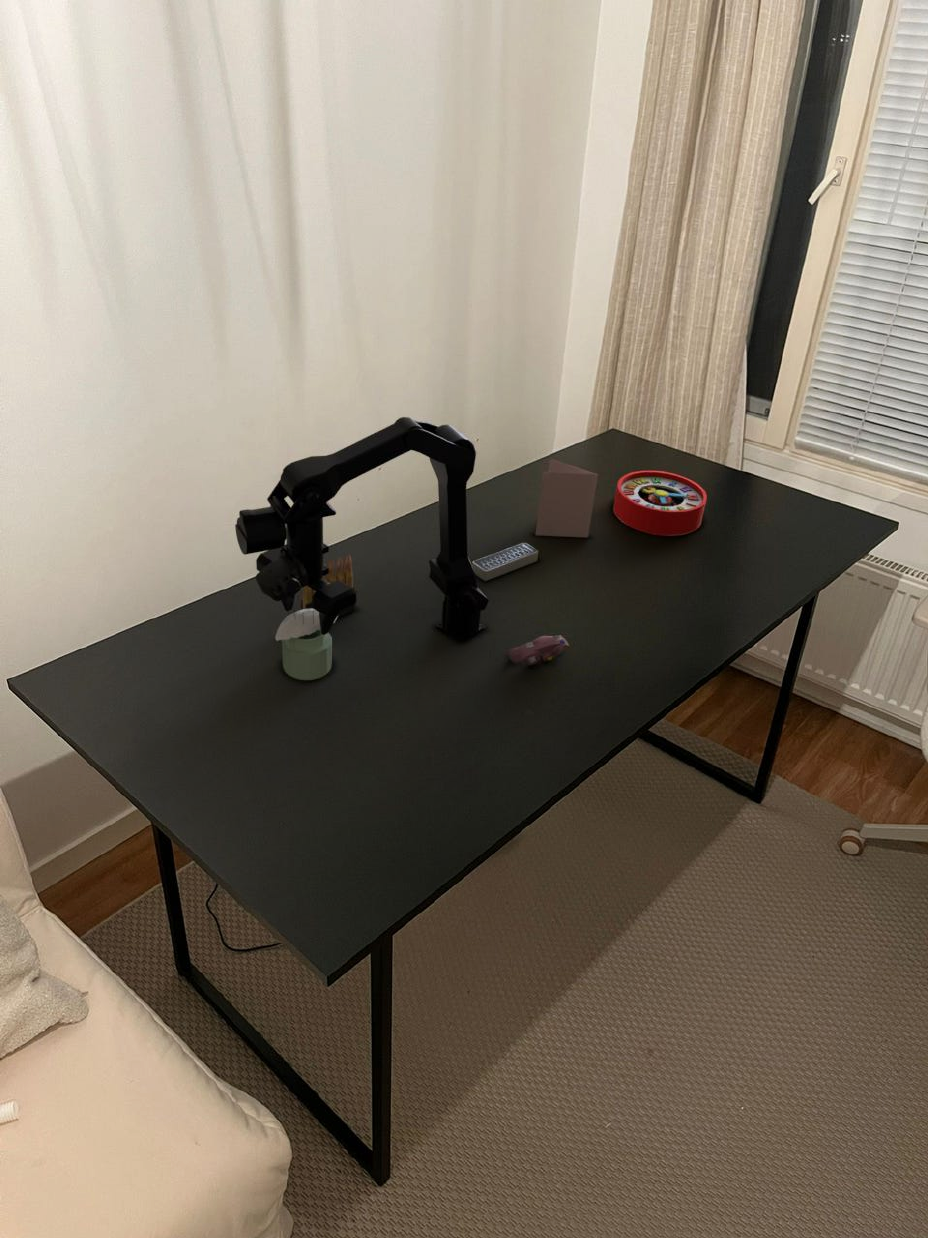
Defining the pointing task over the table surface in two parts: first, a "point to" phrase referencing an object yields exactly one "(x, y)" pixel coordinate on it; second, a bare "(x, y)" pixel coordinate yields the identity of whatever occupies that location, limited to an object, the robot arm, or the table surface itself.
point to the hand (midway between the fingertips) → (306, 622)
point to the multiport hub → (504, 561)
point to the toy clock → (659, 503)
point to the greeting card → (566, 501)
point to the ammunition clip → (343, 577)
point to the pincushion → (299, 624)
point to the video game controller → (539, 649)
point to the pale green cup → (307, 656)
